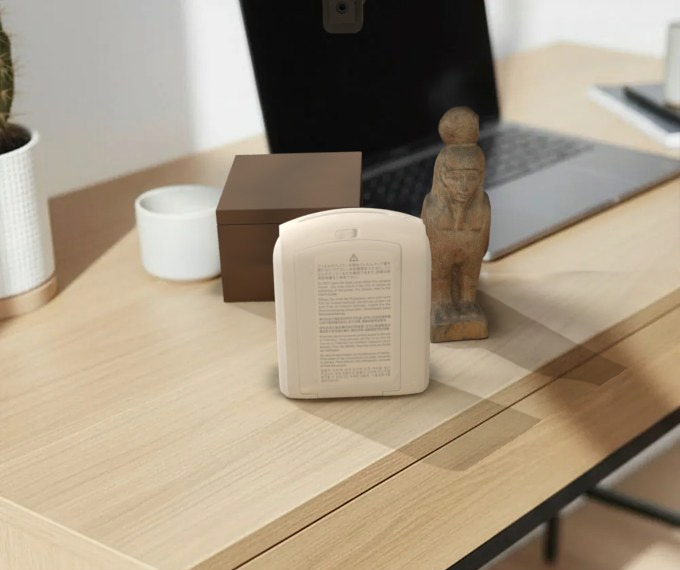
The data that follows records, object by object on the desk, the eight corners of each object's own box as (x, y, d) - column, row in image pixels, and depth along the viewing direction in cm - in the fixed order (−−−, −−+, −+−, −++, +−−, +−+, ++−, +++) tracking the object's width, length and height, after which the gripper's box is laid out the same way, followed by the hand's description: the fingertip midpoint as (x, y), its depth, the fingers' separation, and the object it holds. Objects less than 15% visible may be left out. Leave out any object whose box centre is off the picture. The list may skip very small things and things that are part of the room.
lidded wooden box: (363, 235, 108) (361, 151, 104) (361, 299, 95) (359, 206, 91) (241, 237, 108) (235, 154, 104) (223, 302, 96) (215, 210, 92)
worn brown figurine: (487, 368, 90) (509, 143, 77) (414, 370, 90) (424, 145, 77) (469, 279, 98) (486, 64, 86) (402, 281, 98) (409, 66, 85)
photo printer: (426, 370, 84) (427, 196, 77) (434, 397, 80) (435, 217, 74) (279, 378, 84) (268, 203, 77) (280, 406, 80) (268, 225, 73)
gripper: (414, -324, 56) (410, 41, 65) (410, -310, 68) (408, -3, 77) (254, -320, 56) (272, 44, 65) (279, -306, 69) (291, -1, 77)
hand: (345, 18), depth 71 cm, fingers open, 8 cm apart
